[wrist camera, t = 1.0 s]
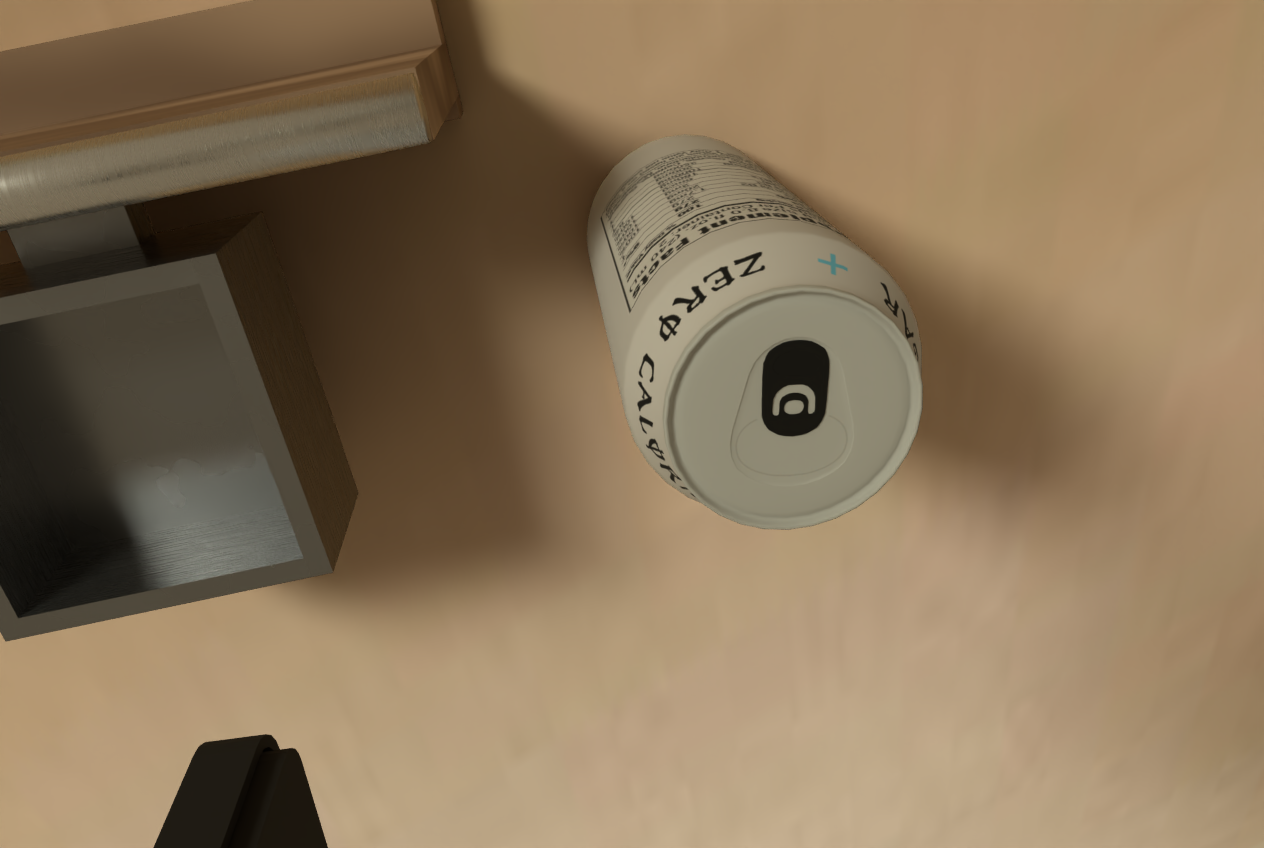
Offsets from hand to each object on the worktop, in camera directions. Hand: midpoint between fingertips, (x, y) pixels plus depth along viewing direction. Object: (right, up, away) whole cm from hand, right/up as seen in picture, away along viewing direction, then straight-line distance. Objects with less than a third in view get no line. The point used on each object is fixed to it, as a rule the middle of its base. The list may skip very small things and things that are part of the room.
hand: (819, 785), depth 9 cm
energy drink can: (0, +10, +23) cm, 25 cm away
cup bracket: (-16, +8, +22) cm, 28 cm away
